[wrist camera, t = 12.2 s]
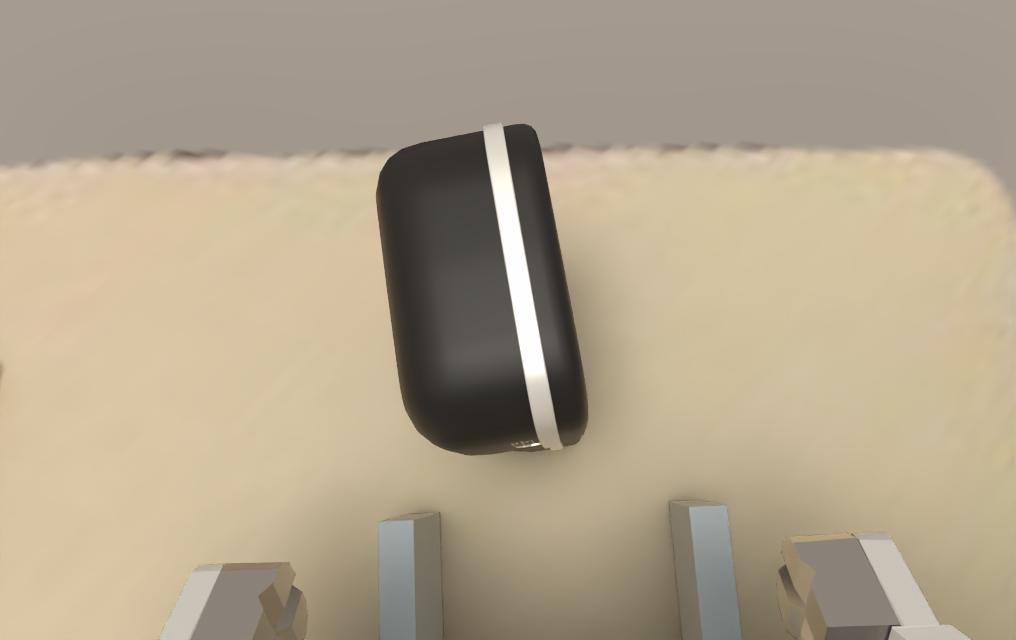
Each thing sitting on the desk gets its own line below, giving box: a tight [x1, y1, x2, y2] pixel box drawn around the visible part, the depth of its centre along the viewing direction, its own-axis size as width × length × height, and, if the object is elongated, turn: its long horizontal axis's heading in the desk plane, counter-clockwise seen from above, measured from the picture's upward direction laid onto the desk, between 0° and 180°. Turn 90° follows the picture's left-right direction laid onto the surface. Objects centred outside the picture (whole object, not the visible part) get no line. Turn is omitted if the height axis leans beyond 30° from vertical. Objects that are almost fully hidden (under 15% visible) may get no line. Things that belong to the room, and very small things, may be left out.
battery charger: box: [376, 123, 588, 455], centre depth 19 cm, size 7×4×11 cm, turn 9°
